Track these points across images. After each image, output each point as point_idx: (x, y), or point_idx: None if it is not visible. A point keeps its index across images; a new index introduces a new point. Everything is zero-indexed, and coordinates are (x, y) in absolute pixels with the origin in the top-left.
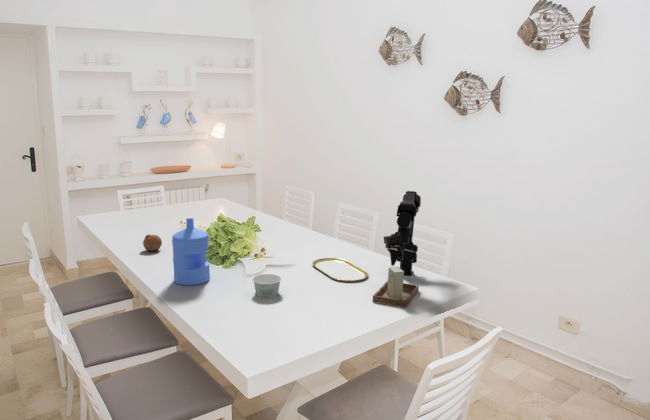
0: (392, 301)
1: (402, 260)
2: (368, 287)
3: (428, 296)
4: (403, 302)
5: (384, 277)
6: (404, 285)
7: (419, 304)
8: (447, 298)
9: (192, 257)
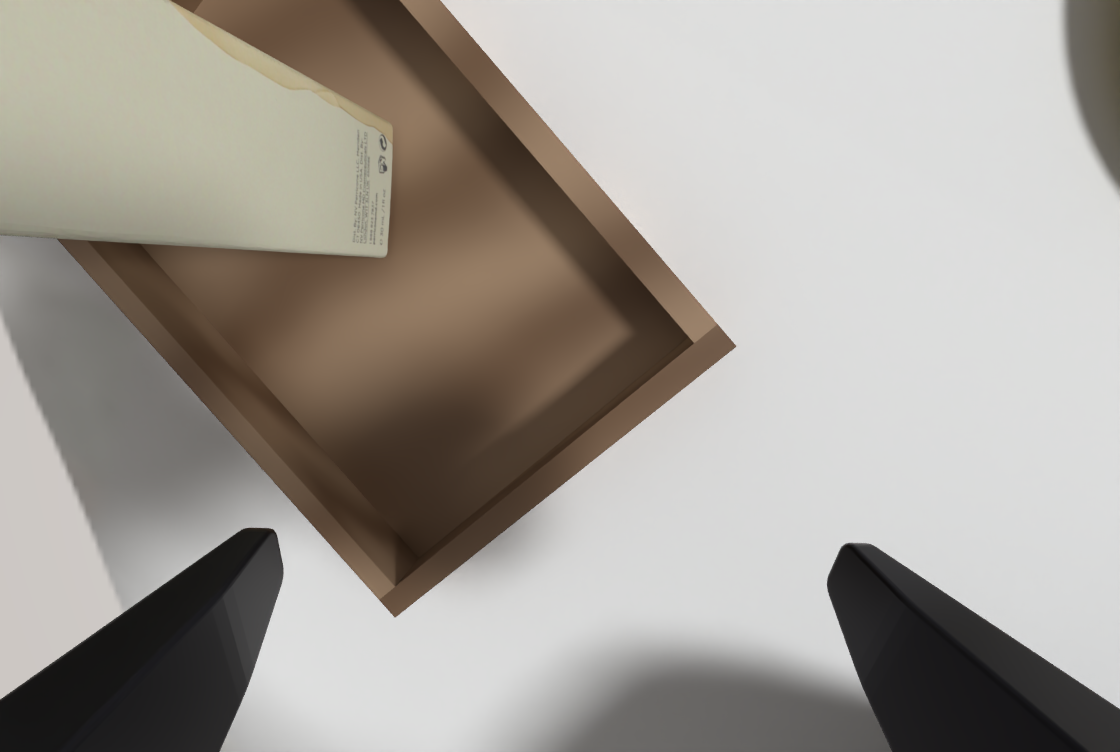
0: None
1: (68, 672)
2: (795, 41)
3: None
4: None
5: (1060, 498)
6: (514, 486)
7: (114, 357)
8: None
9: None
